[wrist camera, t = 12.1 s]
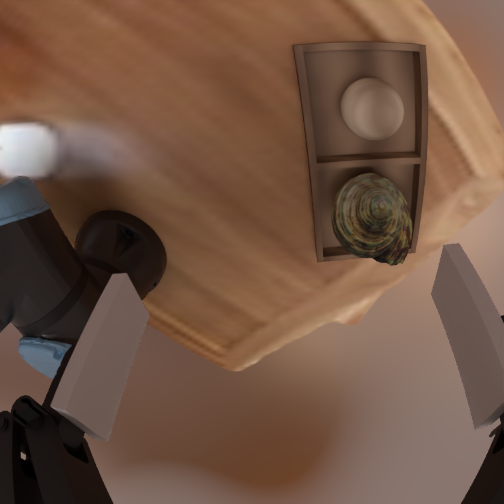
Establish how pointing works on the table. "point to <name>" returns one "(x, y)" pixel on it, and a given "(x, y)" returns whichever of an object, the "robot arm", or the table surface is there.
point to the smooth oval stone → (372, 109)
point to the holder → (351, 145)
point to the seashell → (372, 219)
